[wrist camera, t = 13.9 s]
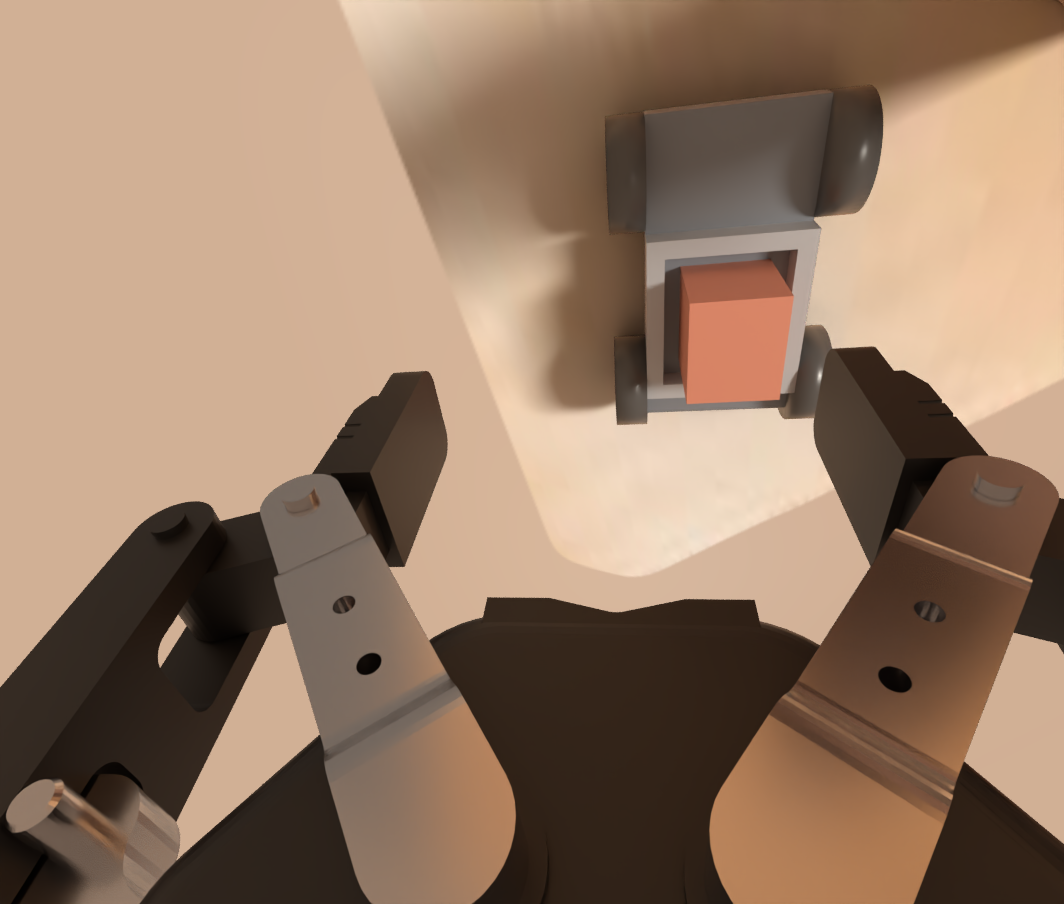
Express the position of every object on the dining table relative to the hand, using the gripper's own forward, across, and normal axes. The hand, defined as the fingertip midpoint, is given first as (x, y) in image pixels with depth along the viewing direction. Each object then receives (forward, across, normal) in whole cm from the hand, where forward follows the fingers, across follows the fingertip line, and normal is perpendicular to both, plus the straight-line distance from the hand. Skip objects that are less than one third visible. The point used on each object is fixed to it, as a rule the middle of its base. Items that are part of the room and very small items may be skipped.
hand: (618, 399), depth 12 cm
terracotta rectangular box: (+24, -6, +9) cm, 26 cm away
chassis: (+28, -6, +7) cm, 29 cm away
